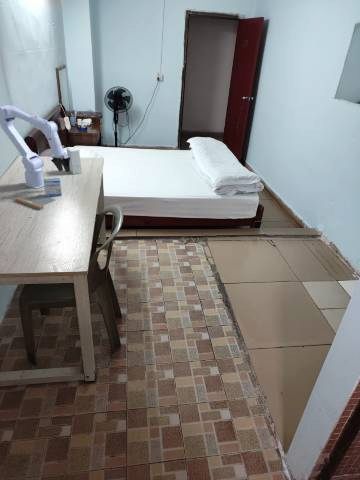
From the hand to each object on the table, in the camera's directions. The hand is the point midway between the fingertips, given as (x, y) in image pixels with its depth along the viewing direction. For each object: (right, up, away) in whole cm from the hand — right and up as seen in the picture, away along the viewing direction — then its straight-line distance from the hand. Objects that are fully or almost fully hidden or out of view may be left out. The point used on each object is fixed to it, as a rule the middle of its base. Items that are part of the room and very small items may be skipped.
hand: (64, 171), depth 179 cm
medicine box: (-6, -13, 0) cm, 14 cm away
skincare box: (-4, +6, +32) cm, 33 cm away
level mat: (-11, -17, -8) cm, 22 cm away
